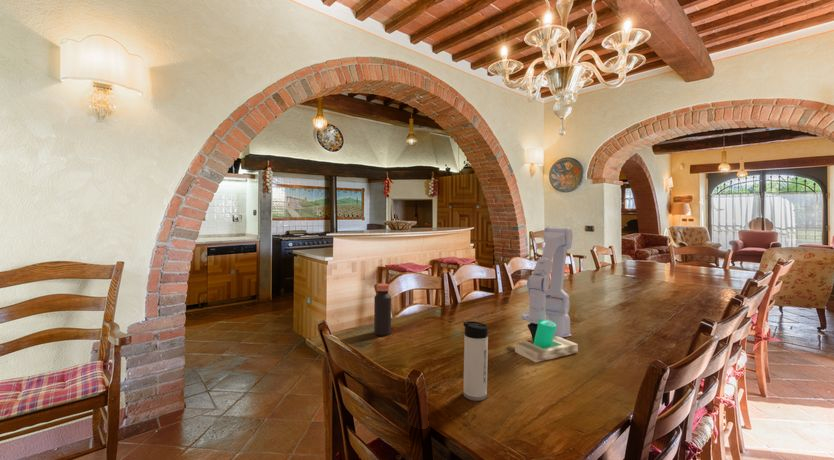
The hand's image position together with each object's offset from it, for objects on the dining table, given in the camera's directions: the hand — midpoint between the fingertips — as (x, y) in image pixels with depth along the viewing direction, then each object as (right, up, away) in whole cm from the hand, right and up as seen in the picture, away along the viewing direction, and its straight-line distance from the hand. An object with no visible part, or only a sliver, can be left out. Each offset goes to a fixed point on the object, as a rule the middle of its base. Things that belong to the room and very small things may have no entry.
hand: (536, 343), depth 132 cm
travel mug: (-28, -3, -35) cm, 45 cm away
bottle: (-58, 0, +14) cm, 60 cm away
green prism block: (+1, -1, -3) cm, 3 cm away
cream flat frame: (+2, -2, -4) cm, 5 cm away
